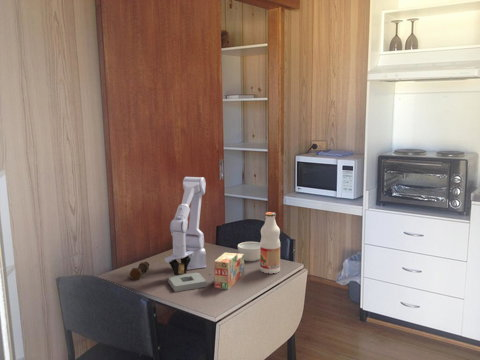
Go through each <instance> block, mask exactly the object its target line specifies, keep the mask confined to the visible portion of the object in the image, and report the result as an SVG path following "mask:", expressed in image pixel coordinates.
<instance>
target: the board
mask: <svg viewBox="0 0 480 360" xmlns="http://www.w3.org/2000/svg"><path fill="white" fill-rule="evenodd" d="M167 279H168V280H167V281H168V282H167V283H168V284H169V285H170V286H171V288H172V290H173V291H174V292H175V293H176V292H181V291H188V290H194V289H200V288H201V289H202V288H206V287H208V285H207V283H208V281H207V280H206V279H205V278H204V277H203V276H202V275H201V273H199V272H191V273H190V272H189V273H185V274H183V275H177V276H175V275H170V276H168V278H167Z"/></svg>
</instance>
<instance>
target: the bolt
mask: <svg viewBox="0 0 480 360" xmlns="http://www.w3.org/2000/svg"><path fill="white" fill-rule="evenodd" d="M149 268H150V263H149V262H147V261H144V262H140V263H139V264H138V267H133V268H132V269H131V270H130V272H129V276H130V278H131V279H132V280H140V279H141V277H142V276H143V273H147V271H148V270H149Z"/></svg>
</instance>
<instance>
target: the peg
mask: <svg viewBox="0 0 480 360" xmlns="http://www.w3.org/2000/svg"><path fill="white" fill-rule="evenodd" d="M183 274H184V263H181V262H179V266H178V275H183Z"/></svg>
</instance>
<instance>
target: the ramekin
mask: <svg viewBox="0 0 480 360" xmlns="http://www.w3.org/2000/svg"><path fill="white" fill-rule="evenodd" d="M237 249H238V250H237V251H238V254H244V260H245V261H246V262H256V260H257V261H260V242H258V241H245V242H241V243H238V244H237ZM245 261H244V262H245Z"/></svg>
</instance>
